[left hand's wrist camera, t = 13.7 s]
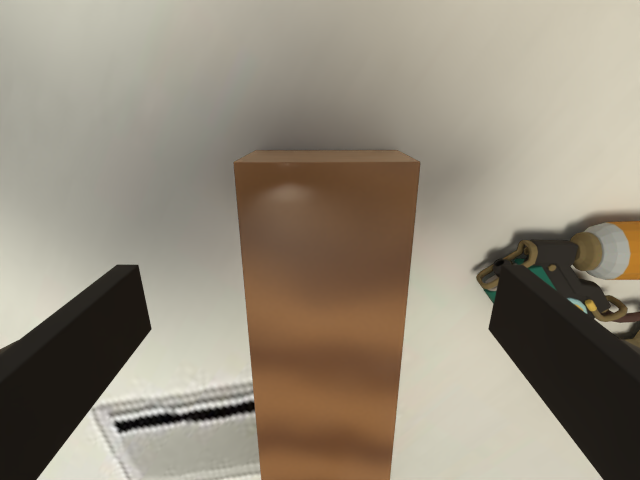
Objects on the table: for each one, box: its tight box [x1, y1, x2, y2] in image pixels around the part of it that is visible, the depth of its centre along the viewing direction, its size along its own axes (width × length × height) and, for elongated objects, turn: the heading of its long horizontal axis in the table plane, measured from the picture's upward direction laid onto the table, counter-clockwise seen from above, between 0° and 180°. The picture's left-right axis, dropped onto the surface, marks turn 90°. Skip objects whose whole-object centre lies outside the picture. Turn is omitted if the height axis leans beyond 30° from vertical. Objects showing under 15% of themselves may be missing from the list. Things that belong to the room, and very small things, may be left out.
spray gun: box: [476, 221, 640, 348], centre depth 27 cm, size 4×17×15 cm
